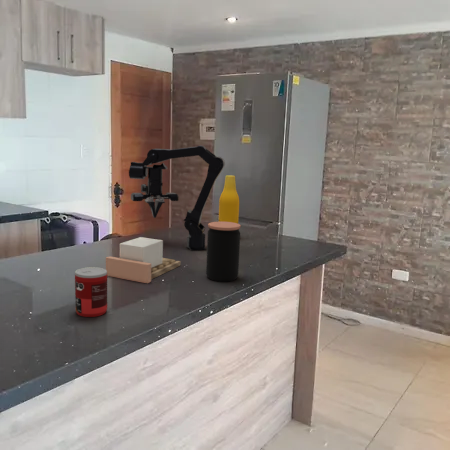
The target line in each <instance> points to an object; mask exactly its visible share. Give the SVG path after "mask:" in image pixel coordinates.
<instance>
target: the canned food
mask: <svg viewBox="0 0 450 450" xmlns="http://www.w3.org/2000/svg"><path fill="white" fill-rule="evenodd" d="M74 290H75V291H74V292H75V293H74V294H75V295H74V296H75V297H74V300H75V313H76V315H78V316H80V317H85V318H96V317H100V316H102V315H105V314H106V313H107V311H108V310H107V309H108V276H107V270H106V268H102V267H99V266H98V267H97V266H95V267H94V266H90V267H89V266H88V267H82V268H78V269H76V270H75V272H74Z"/></svg>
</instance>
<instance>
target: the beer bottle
mask: <svg viewBox="0 0 450 450" xmlns="http://www.w3.org/2000/svg"><path fill="white" fill-rule="evenodd" d="M223 185H224V186H223V191H222V192H221V194H220V196H219V201H218V222H233V223H237V224H239V216H240V215H239V214H240V197H239V194H238V191H237V186H236V176H235V175H225V179H224V184H223Z"/></svg>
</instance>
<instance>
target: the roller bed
mask: <svg viewBox="0 0 450 450" xmlns="http://www.w3.org/2000/svg"><path fill="white" fill-rule="evenodd" d="M181 264H182V263H181V260H176V259H172V258H167V257H166V258H165V257H163V261H162V264H159V265H157V266H155V267H152V268H151V280H153V279H155V278H157V277H160V276H161V275H163V274H166V273H168V272H170V271H172V270H174V269H176V268H178V267H181Z"/></svg>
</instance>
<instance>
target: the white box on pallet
mask: <svg viewBox="0 0 450 450" xmlns="http://www.w3.org/2000/svg"><path fill="white" fill-rule="evenodd" d="M163 248H164V240H162V239H156V238H155V239H154V238H148V237H143V236H139V237H137V238H133V239H130V240H126V241H124V242H121V243H119V258H122V259H128V260H134V261H140V262H146V263H151V268H152V267H155V266H157V265H159V264H162V261H163V258H164V256H163V253H164V251H163V250H164V249H163Z"/></svg>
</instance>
